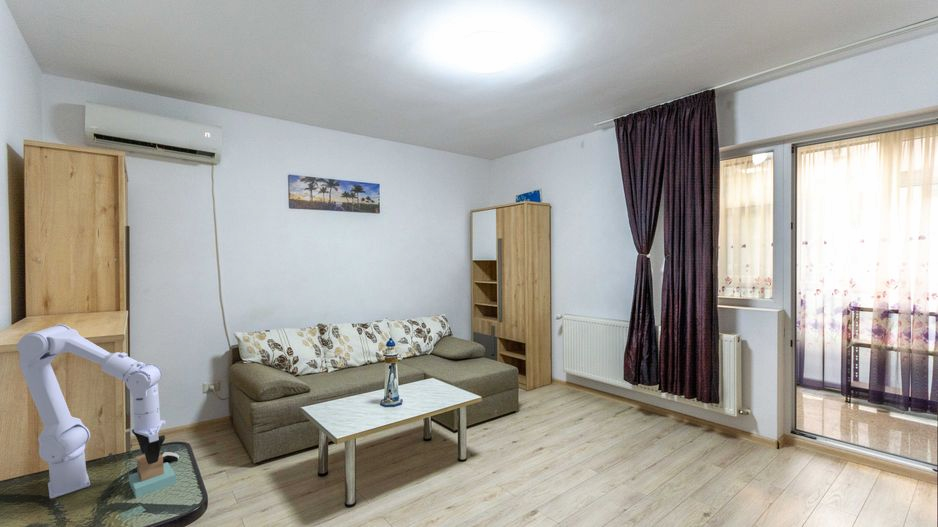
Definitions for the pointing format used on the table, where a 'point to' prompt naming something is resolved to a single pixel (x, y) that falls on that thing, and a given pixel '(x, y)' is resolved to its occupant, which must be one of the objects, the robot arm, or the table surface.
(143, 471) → the walnut cube
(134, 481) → the teal box
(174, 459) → the game controller
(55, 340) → the robot arm
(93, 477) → the table surface
